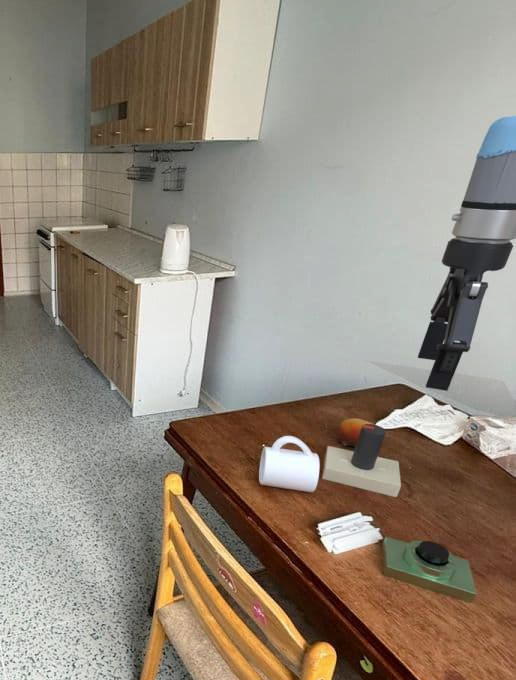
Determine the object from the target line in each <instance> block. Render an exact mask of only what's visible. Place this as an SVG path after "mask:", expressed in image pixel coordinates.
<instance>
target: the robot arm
mask: <svg viewBox="0 0 516 680" xmlns="http://www.w3.org/2000/svg"><path fill="white" fill-rule="evenodd" d="M475 158H476V160H475V163H474V166H473V170H472V172H471V175H470V179H469V181H468V185H467V188H466V191H465V193H464V197H463V199H462V201H461V205H460V208H459V213H454V214H453V215H452V216H451V221H453V222H454V225H453V228H452V231H451V235H452V236H453V238H451V239H450V240H448V241H447V244H446V248H445V250H444V253H443V256H442V258H441V263H442V265H444V266H446V267H448V268H449V271H448V274H447V277H446V279H445V281H444V283H443V285H442V287H441V289H440V292H439V293H438V295H437V298H436V300H435V302H434V304H433V306H432V308H431V309H430V321H429V323H428V326H427V329H426V331H425V335H424V337H423V338H424V339H423V341H422V343H421V346H420V349H419V352H418V354H417V359H423V360H428V361H429V360H430V361H434V362H433V365H432V368H431V370H430V372H429V375H428V377H427V381H426V384H425V388H427V389H431V390H432V389H433V390H440V391H445V392H448V390H449V388H450V385H451V382H452V380H453V378H454V376H455V373H456V371H457V368H458V365H459V363H460V360H461V358H462V355H463V354H464V353H468V352H469V351H470V350H471V345H472V340H473V337H474V333H475V329H476V326H477V322H478V318H479V314H480V311H481V307H482V303H483V299H484V297H485V294H486V291H487V289H488V288H489V282H487V281H486V282H485V281H483V277H484V274H485V273H486V272H497V271H501V270H502V269H505V267H506V265H507V263H508V260H509V258H510V256H511V253H512V250H513V249H514V245H513V242H511V241H513V240H515V239H516V115H511V116H504V117H500V118H498V119H496V120H495V121H494V122H492V123H491V124H490V126H489V127H488V129H487V132H486V134H485V136H484V139H483V140H482V143H481V146H480V149H479V150H478V152H477V154H476V157H475Z"/></svg>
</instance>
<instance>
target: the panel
mask: <svg viewBox="0 0 516 680" xmlns="http://www.w3.org/2000/svg"><path fill="white" fill-rule="evenodd" d="M325 451H326V452H325V455H324V459H323V460H324V461H323V468H322V475H321V479H322V480H324V481H330V482H332V483H338V484H341V485H345V486H348V487H349V486H350V487H353V488H357V489H360V490H361V489H362V490H365V491H368V492H369V491H370V492H373V493H377V494H381V495H386V496H389V497H393V498H397V497H398V496H399V493H400V490H401V487H402V483H401V471H400V464H399V461H398V460H394V459H389V458H386V457H385V458H384V457H380V456H378V457H377V460H376V463H375V466H374V468H373V469H371V470H363V469H359V468H357V467H355V466H353V465H352V463H351V459H352V456H353V453H354V450H349V449H344V448H339V447H335V446H331V445H327V447H326V450H325Z"/></svg>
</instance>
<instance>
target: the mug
mask: <svg viewBox="0 0 516 680" xmlns="http://www.w3.org/2000/svg"><path fill="white" fill-rule="evenodd" d="M286 444H295V445H296V446H298V447H299V448H300V449H301V450H302V451H300V450H295V449H287V448H286V449H285V448H282V447H283V446H284V445H286ZM320 464H321V463H320V457H319V455H318V453H315V452H312V451H311V449H310V448H309V447H308V445H307V444H306V443H305V442H304V441H302V440H301V439H300V438H298V437H296V436H292V435H284V436H281V437H279V438H277V439H276V440H275V441H274V442H273V444H272V446H263V449H262V451H261V455H260V460H259V467H258V468H259V471H258V482H259V484H260V485H261V486H266V487H274V488H281V489H288V490H293V491H299V492H307V493H314V492H315V490H316V489H317V486H318V484H319V478H320V471H321V470H320V466H321V465H320Z"/></svg>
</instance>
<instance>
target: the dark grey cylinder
mask: <svg viewBox="0 0 516 680" xmlns="http://www.w3.org/2000/svg"><path fill="white" fill-rule="evenodd" d="M386 434H387V430H386V429H385V428H384V427H383V426H379V425H377V424H374V423H373V424H364V425H362V428H361V431H360V434H359V437H358V440H357V443H356V447H354V450H353V451H354V453H353V456H352V459H351V463H352V465H353V466H355V467H357V468H359V469H363V470H371V469H373V468H374V466H375V463H376V460H377V457H379V454H380V451H381V448H382V445H383V442H384V439H385V437H386Z"/></svg>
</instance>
